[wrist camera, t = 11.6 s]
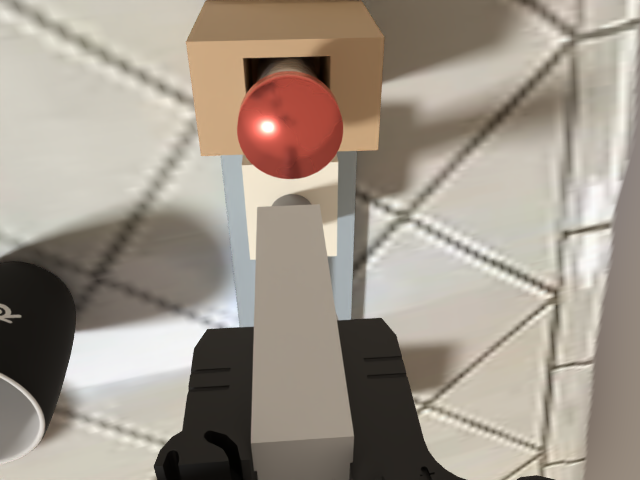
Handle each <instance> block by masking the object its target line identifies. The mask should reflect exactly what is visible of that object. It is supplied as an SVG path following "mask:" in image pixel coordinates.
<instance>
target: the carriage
mask: <svg viewBox="0 0 640 480" xmlns="http://www.w3.org/2000/svg"><path fill="white" fill-rule="evenodd" d="M242 175H243V186H244V197H245V208H246V219H247V231H248V242H249V253H250V260H256V231H257V207H266V206H290V205H313V204H320V210H321V217H322V223H323V230H324V237H325V244H326V250H327V256H337V212H338V159H337V154H336V155H335V157H334V158H333V159H332V161H331V162H330V163H329V164H328V165H327V166H325V167H324V168H323V169H322V170H320V171H318V172H317V173H315V174H313V175H310V176H307V177H304V178H299V179H282V178H277V177H273V176H270V175H268V174H266V173H264V172H262V171H260V170H259V169H257V168H256V167H255V166H254V165H253V164H251V163H250V161H249V160H248V159H247V158H246V156H245V155H243V157H242ZM336 318H337V320H338V316H337V314H336Z"/></svg>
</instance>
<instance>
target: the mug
mask: <svg viewBox="0 0 640 480" xmlns="http://www.w3.org/2000/svg"><path fill="white" fill-rule="evenodd" d="M75 324H76V311H75V305H74V301H73V298H72V295H71V293H70V291H69V290H68V288H67V287H66V285H65V284H64V283H63V282H62V281H61V280H60V279H59V278H58V277H57V276H55V275H54V274H52V273H51V272H49V271H47V270H45V269H43V268H41V267H38V266H36V265H32V264H28V263H22V262H4V263H0V464H4V463H8V462H11V461H14V460H17V459H19V458H21V457H23V456H25V455H27V454H28V453H30V452H31V451H32V450H33V449H35V448H36V447H37V445H38V444H39V443H40V441H41V440H42V438H43V437H44V434H45V432H46V430H47V428H48V425H49V423H50V421H51V418H52V415H53V413H54V410H55V407H56V404H57V401H58V398H59V395H60V391H61V388H62V385H63V381H64V378H65V374H66V370H67V367H68V363H69V359H70V355H71V350H72V345H73V340H74V333H75Z"/></svg>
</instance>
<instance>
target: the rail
mask: <svg viewBox="0 0 640 480" xmlns="http://www.w3.org/2000/svg"><path fill="white" fill-rule="evenodd" d="M186 45H187V52H188V60H189V68H190V75H191V83H192V90H193V98H194V105H195V113H196V121H197V128H198V136H199V143H200V151H201V156H216V155H221V164H222V173H223V182H224V191H225V200H226V209H227V218H228V227H229V236H230V245H231V254H232V263H233V272H234V281H235V290H236V299H237V308H238V317H239V326H240V327H254V306H255V268H256V260H250V253H249V242H248V231H247V219H246V208H245V197H244V186H243V175H242V157H243V155H244V153H243V151H242V149H241V147H240V144H239V141H238V136H237V123H238V116H239V109H240V106H241V103H242V100H243V98H244V97H245V95H246V93H247V92H248V91H249V89H250V88H251V87H252V86H253V85H254V84H255V83H256V82H257V70H258V58H269V57H310V56H313V59H314V64H315V69H316V74H317V79H318V80H320V81H321V82H322V83H324V84H325V85H326V86H327V87H328V88H329V89H330V90H331V92H332V93H333V95H334V96H335V98H336V100H337V103H338V106H339V109H340V113H341V116H342V121H343V138H342V142H341V145H340V148H339V150H338V152H337V159H338V212H337V256H327V257H328V264H329V271H330V277H331V284H332V291H333V298H334V304H335V311H336V314H337V316H338V320H351V309H352V280H353V251H354V222H355V193H356V164H357V151H365V150H378V142H379V124H380V107H381V89H382V72H383V54H384V36H383V34H382V33H381V31H380V29H379V28H378V26H377V25H376V23H375V21H374V20H373V18H372V17H371V15H370V13H369V12H368V10H367V9H366V7H365V6H364V4H363V2H362V1H361V0H213V1H205V3H204V5H203V7H202V9H201V12H200V14H199V16H198V18H197V20H196V22H195V24H194V26H193V28H192V30H191V33H190V35H189V37H188V39H187V41H186Z"/></svg>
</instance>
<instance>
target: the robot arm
mask: <svg viewBox="0 0 640 480" xmlns="http://www.w3.org/2000/svg"><path fill="white" fill-rule="evenodd" d="M154 469H155V473H156V476H157V480H466V479H463V478H460V477H457V476H456V475H454V474H452V473H451V472H449V471H447V470H446V469H444V468H443V467H442V466H441V465H440V464H439V463H438V462H437V461H436V460H435V459H434V458H433V456H432V455H431V453H430V452H429V451H428V448H427V446H426V444H425V441H424V438H423V434H422V431H421V427H420V423H419V419H418V416H417V412H416V408H415V404H414V400H413V397H412V393H411V389H410V385H409V382H408V378H407V377H406V370H405V367H404V363H403V360H402V355H401V351H400V348H399V344H398V340H397V336H396V334H395V333H394V332H393V331H392V330H391V329H390V327H389V326H388V325H387V324H386V323H385V322H384V320H383V319H382V318H372V319H354V320H337V318H336V311H335V304H334V298H333V291H332V284H331V277H330V271H329V264H328V257H327V250H326V244H325V237H324V230H323V223H322V217H321V210H320V204H313V205H290V206H266V207H257V231H256V268H255V306H254V327H237V328H219V329H207V330H206V332H205V333H204V335H203V336H202V338H201V339H200V341H199V342H198V344H197V345H196V347H195V348H194V353H193V360H192V367H191V374H190V381H189V392H188V395H187V402H186V408H185V415H184V422H183V429H182V432H180V433H178V434H176V435H175V436H173V437H172V438H171V439H170V440H169V441H168V442H167V443H166V444H165V445H164V447H163V448H162V449H161V450H160V452H159V454H158V457H157V459H156V462H155V464H154ZM517 480H554V479H550V478H546V477H541V476H537V475H536V476H527V477H520V478H518V479H517Z"/></svg>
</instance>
